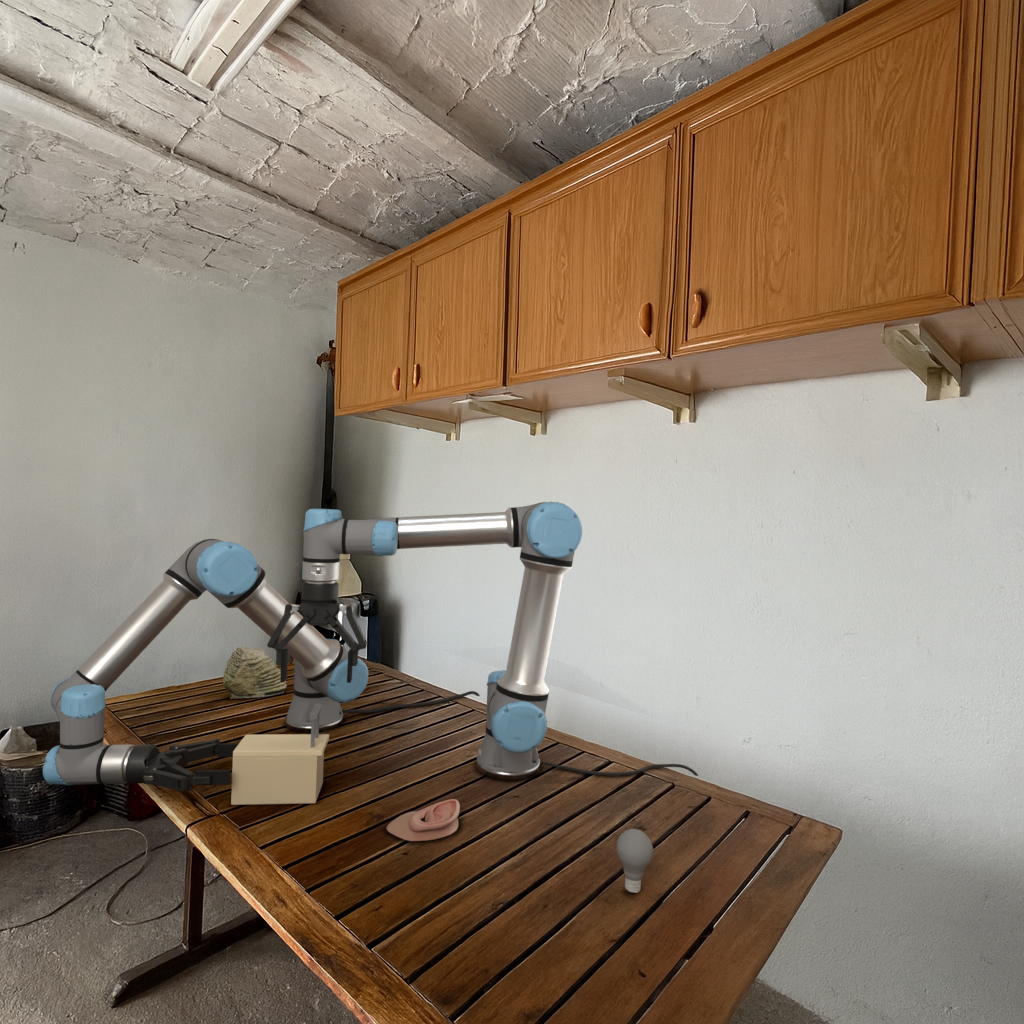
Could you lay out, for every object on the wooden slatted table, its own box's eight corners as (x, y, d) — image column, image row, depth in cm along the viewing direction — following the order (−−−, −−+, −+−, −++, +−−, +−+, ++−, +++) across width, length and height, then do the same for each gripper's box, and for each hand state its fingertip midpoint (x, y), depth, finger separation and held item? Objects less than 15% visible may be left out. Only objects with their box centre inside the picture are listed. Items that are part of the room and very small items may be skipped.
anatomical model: (380, 815, 119) (403, 788, 130) (379, 836, 119) (402, 808, 130) (448, 826, 116) (465, 797, 127) (447, 847, 116) (464, 817, 127)
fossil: (218, 695, 195) (220, 647, 195) (278, 685, 208) (279, 640, 207) (228, 703, 189) (230, 653, 188) (289, 692, 201) (290, 645, 201)
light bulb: (610, 879, 108) (613, 822, 108) (644, 879, 109) (647, 822, 109) (619, 902, 102) (622, 840, 102) (655, 901, 103) (658, 840, 103)
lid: (329, 738, 140) (330, 700, 140) (322, 755, 131) (323, 715, 131) (245, 739, 138) (247, 700, 138) (232, 756, 128) (234, 715, 128)
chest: (322, 783, 140) (324, 739, 140) (315, 803, 131) (317, 756, 131) (244, 784, 138) (245, 739, 138) (230, 804, 129) (232, 756, 128)
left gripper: (157, 757, 143) (255, 756, 145) (100, 812, 118) (220, 809, 121) (158, 724, 142) (256, 724, 145) (101, 772, 118) (221, 770, 120)
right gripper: (254, 582, 129) (250, 685, 129) (379, 585, 132) (374, 686, 133) (263, 577, 136) (260, 675, 137) (381, 580, 140) (377, 676, 140)
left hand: (240, 763), depth 133 cm, fingers open, 13 cm apart
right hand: (316, 681), depth 135 cm, fingers open, 13 cm apart
